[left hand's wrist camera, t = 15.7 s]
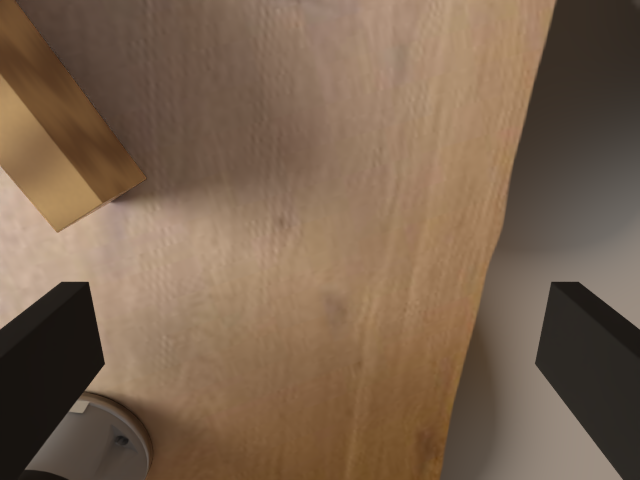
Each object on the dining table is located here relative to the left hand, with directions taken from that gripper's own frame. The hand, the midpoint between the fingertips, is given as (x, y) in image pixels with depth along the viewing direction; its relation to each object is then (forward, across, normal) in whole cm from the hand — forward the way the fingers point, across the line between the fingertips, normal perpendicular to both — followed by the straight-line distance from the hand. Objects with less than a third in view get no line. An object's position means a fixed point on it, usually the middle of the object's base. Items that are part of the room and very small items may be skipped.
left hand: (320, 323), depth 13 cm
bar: (+28, +23, -7) cm, 37 cm away
